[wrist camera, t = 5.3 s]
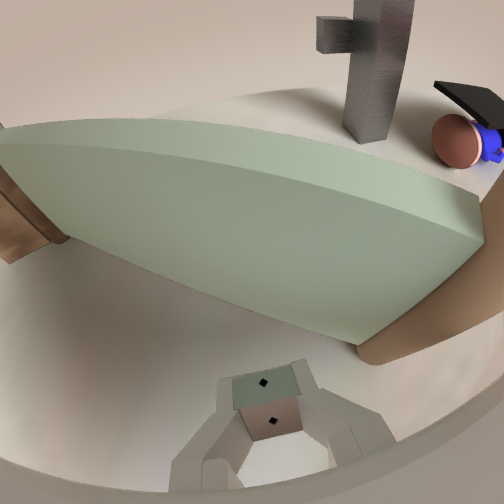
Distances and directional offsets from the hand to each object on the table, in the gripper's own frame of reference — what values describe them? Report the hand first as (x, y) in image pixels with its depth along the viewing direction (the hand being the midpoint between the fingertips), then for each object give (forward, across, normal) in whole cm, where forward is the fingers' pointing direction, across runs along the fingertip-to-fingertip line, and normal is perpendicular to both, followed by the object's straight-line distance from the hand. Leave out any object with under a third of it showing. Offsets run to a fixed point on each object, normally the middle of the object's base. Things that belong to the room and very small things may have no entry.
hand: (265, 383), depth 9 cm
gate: (+8, +3, -1) cm, 9 cm away
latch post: (+16, -12, -9) cm, 22 cm away
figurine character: (+13, -26, -5) cm, 30 cm away
